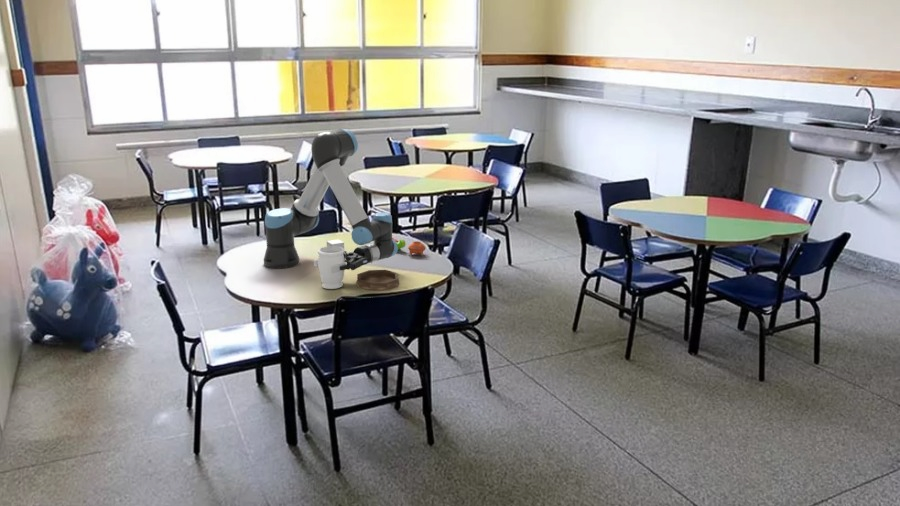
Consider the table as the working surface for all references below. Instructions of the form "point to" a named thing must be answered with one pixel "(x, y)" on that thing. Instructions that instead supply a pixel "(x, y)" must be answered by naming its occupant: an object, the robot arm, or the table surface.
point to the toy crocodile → (400, 243)
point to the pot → (417, 248)
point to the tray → (377, 279)
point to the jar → (330, 266)
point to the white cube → (335, 243)
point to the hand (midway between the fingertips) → (323, 266)
